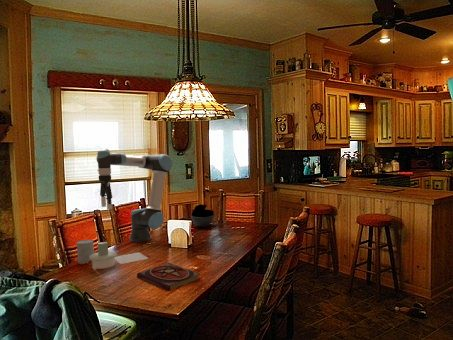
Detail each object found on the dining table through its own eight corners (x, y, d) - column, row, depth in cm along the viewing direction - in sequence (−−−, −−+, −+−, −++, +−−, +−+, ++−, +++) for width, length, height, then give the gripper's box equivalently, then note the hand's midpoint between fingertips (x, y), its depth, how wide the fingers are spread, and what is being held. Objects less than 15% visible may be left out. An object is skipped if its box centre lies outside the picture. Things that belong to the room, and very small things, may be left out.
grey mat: (139, 253, 238) (139, 252, 238) (148, 260, 224) (148, 258, 224) (112, 258, 229) (112, 257, 229) (120, 265, 215) (120, 264, 215)
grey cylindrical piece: (97, 259, 229) (96, 239, 229) (88, 264, 220) (86, 243, 219) (84, 258, 232) (83, 239, 231) (74, 263, 223) (73, 243, 222)
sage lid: (112, 251, 224) (111, 238, 224) (120, 257, 212) (119, 243, 211) (86, 256, 216) (85, 242, 215) (93, 262, 203) (92, 248, 203)
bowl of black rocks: (205, 223, 327) (205, 202, 326) (219, 226, 312) (219, 204, 311) (186, 227, 315) (186, 205, 313) (200, 230, 299) (199, 207, 298)
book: (137, 279, 195) (136, 269, 195) (170, 268, 209) (169, 259, 209) (168, 293, 174) (167, 282, 174) (202, 279, 189) (201, 270, 189)
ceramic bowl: (111, 262, 222) (110, 252, 222) (117, 267, 212) (116, 257, 212) (90, 266, 216) (90, 256, 216) (95, 271, 206) (95, 261, 205)
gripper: (94, 174, 243) (95, 206, 244) (103, 176, 222) (105, 211, 223) (105, 173, 247) (107, 205, 248) (116, 175, 226) (118, 209, 227)
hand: (106, 207), depth 236 cm, fingers open, 13 cm apart
